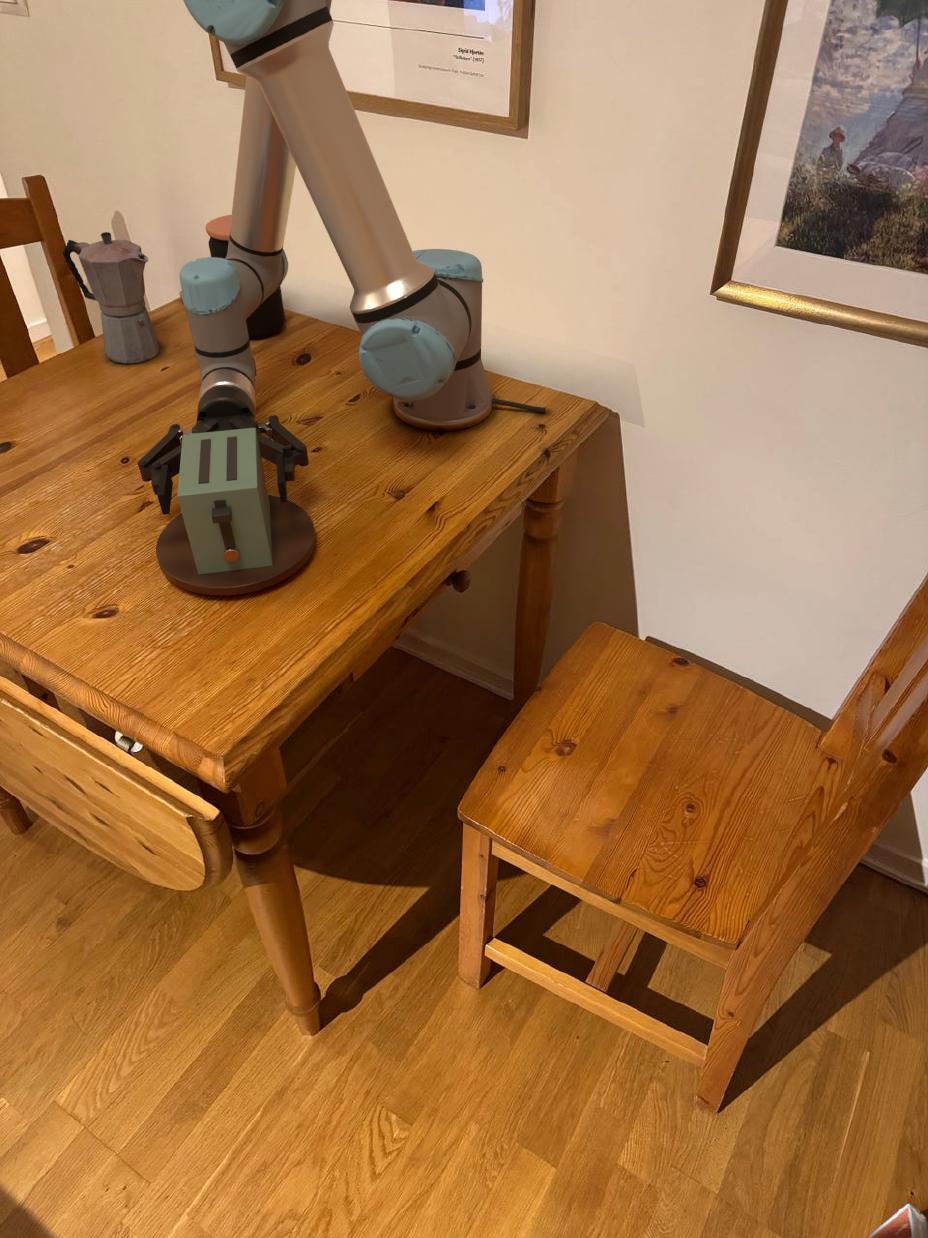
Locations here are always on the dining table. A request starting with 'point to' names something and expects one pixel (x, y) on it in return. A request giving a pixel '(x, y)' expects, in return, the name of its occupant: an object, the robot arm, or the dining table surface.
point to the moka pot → (117, 295)
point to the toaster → (230, 520)
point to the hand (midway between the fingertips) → (223, 498)
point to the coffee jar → (271, 311)
